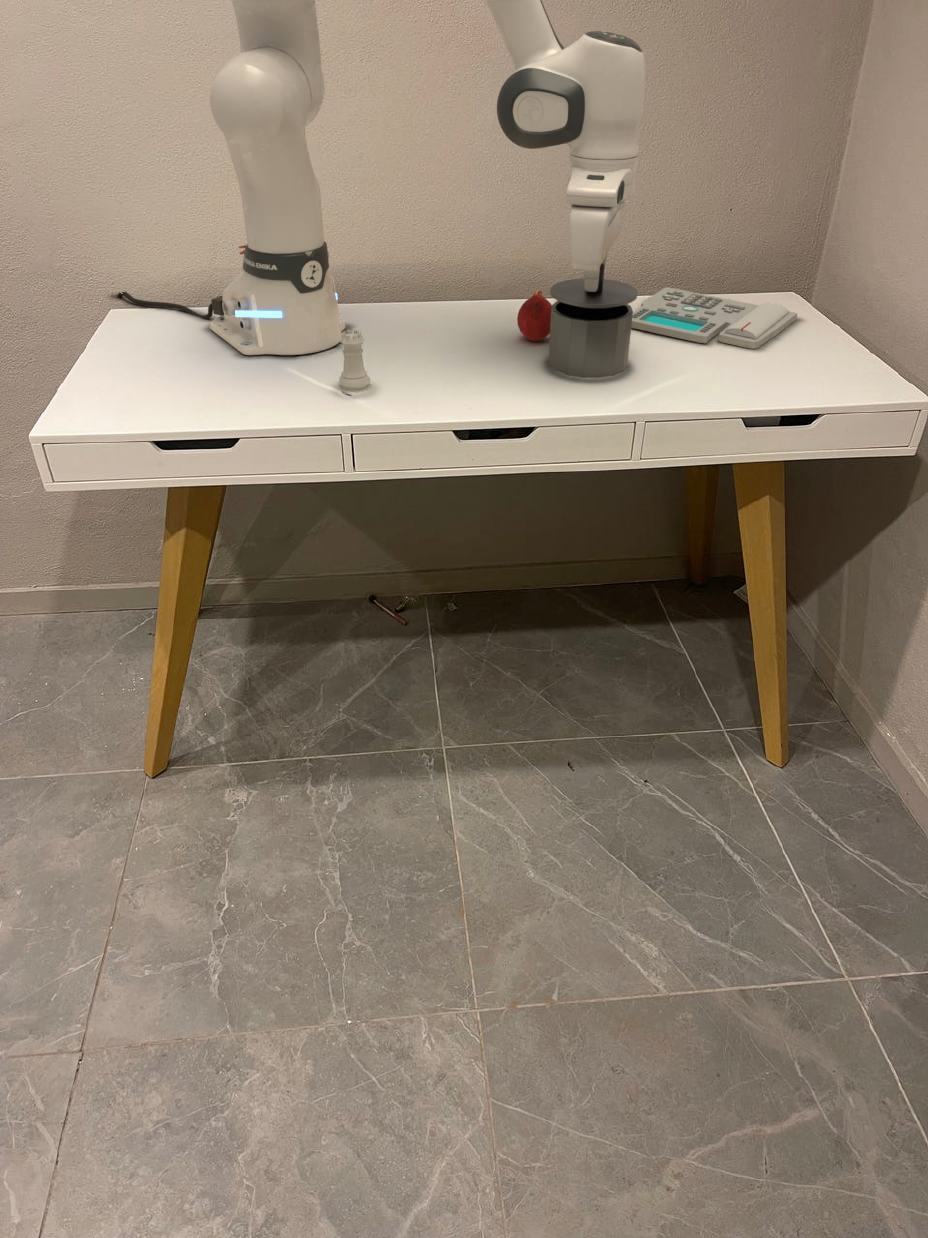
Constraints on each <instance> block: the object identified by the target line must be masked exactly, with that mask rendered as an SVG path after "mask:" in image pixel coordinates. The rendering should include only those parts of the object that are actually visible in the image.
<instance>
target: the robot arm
mask: <svg viewBox="0 0 928 1238" xmlns="http://www.w3.org/2000/svg"><path fill="white" fill-rule="evenodd" d="M484 2H485V3H486V4H487V6H488V8H489V10H490V12H491V15H492V17H493V19H494V22H495V24H496V27H497V28H498V31H499V33H500V35H501V37H502V40H503V42H504V44H505V47H506V49H507V51H508V54H509V56H510V58H511V61H512V63H513V67H514V72H513V73H511V74H510V76H508V78H507V79H506V80H505V81H504V83H503V84H502V86H501V88H500V90H499V93H498V96H497V101H496V115H497V120H498V124H499V126H500V128H501V130H502V132H503V134H504V136H505V137H507V139H508V140H509V141H511V142H512V143H513V144H514V145H516V146H519V147H520V148H524V149H529V150H543V149H546V148H549V147H556V146H560V145H568V146H569V161H568V175H567V177H568V178H567V186H566V192H565V203H566V205H569V206H570V207H569V259H570V265H571V268H572V269H574V270H579V271H583V274H584V278H585V286H584V289H585V290H586V291H589V292H596V291H597V289H598V287H599V280H600V276H599V272H600V266H601V264H604V265H605V266H606V263H607V259H608V254H609V252H610V250H611V249H612V247H613V245H614V243H615V242H616V240H617V239H618V237H619V236H620V233H621V228H622V219H623V217H622V215H623V208H624V207H625V203H626V201H625V200H626V199H627V198H630V197H632V196H634V195H635V194H636V189H637V188H636V187H637V177H638V170H639V168H638V167H639V159H640V158H639V157H640V146H639V138H638V137H639V129H640V125H641V124H642V120H643V117H644V109H645V108H644V107H645V94H646V90H645V89H646V61H645V55H644V52H643V50H642V48H641V46H640V45H639V43H637V42H636V41H635V40H633V39H632V38H630V37H627V36H624V35H622V34H618V33H614V32H609V31H601V30H590V31H587V32H585V33H583V34H582V36H581V37H580V38H578V39H577V40H575V41H574V42H573V43H571V44H569V45H568V46H567V47H564V45H563V44H562V43H561V40H560V39H559V37H558V36H557V34H556V31H555V29H554V27H553V25H552V23H551V19H550V17H549V15H548V13H547V11H546V8H545V5H544V3H543V0H484ZM231 3H232V7H233V11H234V15H235V16H234V17H235V20H236V26H237V32H238V37H239V44H240V45H239V47H240V53H238V54H235V55H234V56H232V57H231V58H229V59H228V60H227V61H226V62H225V63H224V64H223V66H222V67H221V69H220V70H219V71H218V73H217V75H216V76H215V78H214V80H213V82H212V85H211V88H210V94H209V103H210V109H211V110H210V111H211V115H212V117H213V120H214V122H215V123H216V125H217V127H218V128H219V130H220V131H221V133H222V134H223V136H224V139H225V142H226V145H227V149H228V152H229V155H230V159H231V162H232V165H233V169H234V173H235V175H236V178H237V182H238V188H239V191H240V197H241V204H242V214H243V221H244V229H245V236H246V237H245V238H246V244H244V245H240V246H238V249H243V250H241V251H240V252H238V254H239V255H243V259H242V271H240V273H239V274H238V275H237V276H236V277H235V278H234V279H232V281H231V282H230V283H229V284H228V285H227V286H226V287H225V288H224V290H223V292H222V295H219V296H217V297H214V298H211V302H210V304H209V305H208V307H207V313H206V314H199V313H197V312H195V311H194V310H192V309H191V308H189V307H187V306H184V305H182V304H178V303H174V302H173V303H171V302H164V301H153V300H142V299H139V298H135V297H133V296H132V295H131V294H130V293H128V292H127V291H125V292H122V293H123V294H121V293H120V291H119V292H118V293H117V295H116V298H117V299H122V298H123V296H124V297H125V298H126V299H127V300H128V301H130V302H131V303H133V304H135V305H142V306H147V307H158V308H159V307H160V308H168V309H175V310H180V311H183V312H185V313H187V314H188V315H191V316H194V317H197V318H200V319H203V320H209V319H211V318H212V316H213V315H217V316H219V317H216V318H214V319H213V320H211V321H210V322H209V329H210V330H211V331H212V332H214V333H215V334H216V335H217V336H219V337H220V338H221V339H223V340H224V341H225V342H227V343H228V344H229V345H230V346H232V347H233V348H235V349H236V350H237V351H238V352H240V353H241V354H242V355H246V356H259V355H278V356H296V355H297V356H298V355H307V354H314V353H318V352H322V351H326V350H329V349H331V348H333V347H336V346H337V345H338V344H340V343H341V342H340V339H341V337H342V332H344V330H345V329H346V321H345V320H344V319H343V318H341V316H340V309H339V304H338V299H339V298H338V293H337V292H336V285H335V280H334V277H333V276H332V275H331V274H330V273H329V272H328V270H329V269H330V261H329V258H330V252H329V250H328V243H327V241H325V238H324V225H323V224H324V223H323V213H322V210H323V209H322V198H321V197H322V196H321V188H320V187H321V186H320V184H319V180H318V179H317V178H316V176H315V172H314V169H313V166H312V161H311V157H310V153H309V148H308V144H307V139H306V127H308V126H309V125H310V124H311V123H312V122H314V120H315V119H316V118H317V116H318V114H319V112H320V110H321V108H322V105H323V103H324V98H325V91H326V85H325V83H326V82H325V77H324V74H323V71H322V57H321V56H322V55H321V44H320V43H321V42H320V36H319V26H318V17H317V9H316V8H317V7H316V6H317V5H316V0H231Z"/></svg>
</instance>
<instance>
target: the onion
mask: <svg viewBox="0 0 928 1238" xmlns="http://www.w3.org/2000/svg"><path fill="white" fill-rule="evenodd" d="M552 305H553V304H552V303H551V302H550V301H549V300H548V299H547V298H546V297H544V296H543V291H542V290H540V289H536V290H535V291H534V293H533V295H532V296H531V297H530V298H527V299H526V300H525V301H524V302H523V303H522V305H521V306H520V308H519V310H518V312H517V318H516V322H517V327H518V329H519V331H520V333H521V334H522V336H523V337H524V338H526V339H527V340H528V341H530V342H534V343H538V342H541V341H543V340H544V339H546V338H547V337H548V336H550V322H551V306H552Z"/></svg>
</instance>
